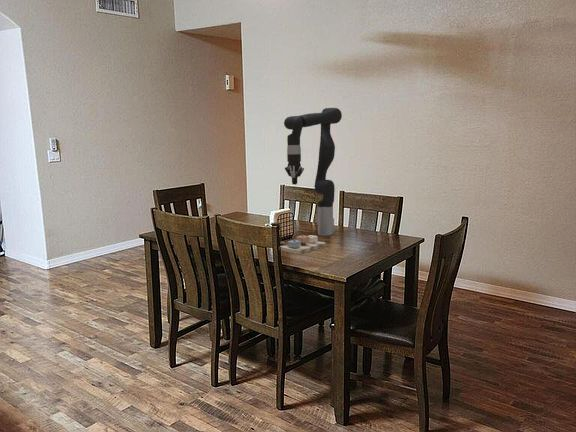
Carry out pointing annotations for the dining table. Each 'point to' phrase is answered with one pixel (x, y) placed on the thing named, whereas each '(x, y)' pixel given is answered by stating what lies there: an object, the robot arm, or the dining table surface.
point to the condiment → (279, 229)
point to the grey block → (294, 243)
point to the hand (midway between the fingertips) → (294, 184)
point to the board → (303, 247)
